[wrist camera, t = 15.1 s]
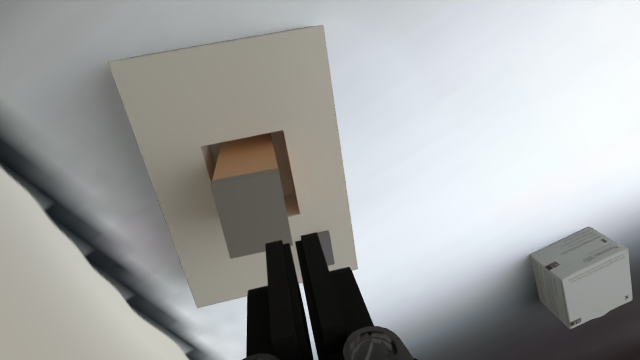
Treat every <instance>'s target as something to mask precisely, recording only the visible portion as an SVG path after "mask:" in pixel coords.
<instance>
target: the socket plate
mask: <svg viewBox="0 0 640 360" xmlns="http://www.w3.org/2000/svg"><path fill="white" fill-rule="evenodd" d="M108 63H109V66H110V69H111V72H112V75H113V77H114V80H115V83H116V86H117V88H118V91H119V94H120V97H121V99H122V102H123V105H124V108H125V110H126V113H127V116H128V119H129V121H130V124H131V127H132V130H133V132H134V135H135V138H136V141H137V144H138V146H139V149H140V152H141V155H142V157H143V160H144V163H145V166H146V168H147V171H148V174H149V177H150V179H151V182H152V185H153V188H154V190H155V193H156V196H157V199H158V201H159V204H160V207H161V210H162V213H163V215H164V218H165V221H166V224H167V226H168V229H169V232H170V235H171V237H172V240H173V243H174V246H175V248H176V251H177V254H178V257H179V259H180V262H181V265H182V268H183V271H184V273H185V276H186V279H187V282H188V284H189V287H190V290H191V293H192V295H193V298H194V301H195V304H196V306H197V308H200V307H204V306H208V305H212V304H216V303H220V302H224V301H228V300H233V299H237V298H241V297H245V296H247V294H248V290H250V289H255V288H259V287H263V286H268V281H267V264H266V251H265V252H261V253H256V254H251V255H246V256H242V257H237V258H232V259H230V256H229V252H228V248H227V245H226V241H225V237H224V234H223V230H222V226H221V223H220V219H219V215H218V211H217V208H216V204H215V200H214V197H213V193H212V189H211V184H212V180H213V175H214V171H215V167H216V163H217V159H218V155H219V151H220V147H221V143H222V142H226V141H231V140H236V139H241V138H246V137H251V136H256V135H261V134H266V133H271V137H272V142H273V147H274V151H275V156H276V160H277V165H278V169H279V174H280V179H281V184H282V190H283V195H284V200H285V206H286V211H287V216H288V221H289V227H290V232H291V237H292V242H293V246H290V247H291V251H292V256H293V261H294V265H295V270H296V274H297V279H298V283H303V280H302V275H301V270H300V265H299V260H298V255H297V250H296V245H295V241H300V240H301V235H306V234H311V233H315V232H317V234H318V237H319V240H320V243H321V247H322V250H323V253H324V256H325V260H326V263H327V266H328V269H329V271H332V270H337V269H341V268H345V267H350V268H351V270H356V269H358V267H357V259H356V252H355V245H354V238H353V231H352V224H351V217H350V210H349V203H348V196H347V189H346V182H345V175H344V168H343V161H342V154H341V147H340V139H339V132H338V125H337V118H336V111H335V104H334V97H333V90H332V83H331V76H330V69H329V62H328V55H327V48H326V41H325V34H324V27H323V25H320V26H310V27H305V28H299V29H293V30H287V31H281V32H275V33H270V34H264V35H258V36H252V37H246V38H241V39H235V40H229V41H223V42H217V43H211V44H206V45H200V46H194V47H188V48H182V49H176V50H171V51H165V52H159V53H153V54H147V55H142V56H136V57H130V58H125V59H121V60H116V61H111V62H108Z"/></svg>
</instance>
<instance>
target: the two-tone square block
mask: <svg viewBox="0 0 640 360" xmlns="http://www.w3.org/2000/svg"><path fill="white" fill-rule="evenodd" d="M211 189H212V193H213V197H214V200H215V204H216V208H217V211H218V215H219V219H220V223H221V226H222V230H223V234H224V237H225V241H226V245H227V248H228V252H229V256H230V259H232V258H237V257H242V256H246V255H251V254H256V253H261V252H265V251H266V248H265V244H266V243H270V242H274V241H279V240H282V241H283V244H286V243H290V246H293V242H292V237H291V232H290V227H289V221H288V216H287V211H286V206H285V200H284V195H283V190H282V184H281V179H280V174H279V169H278V165H277V160H276V156H275V151H274V147H273V142H272V137H271V133H266V134H261V135H256V136H251V137H246V138H241V139H236V140H231V141H226V142H222V143H221V147H220V151H219V155H218V159H217V163H216V167H215V171H214V175H213V180H212V184H211Z"/></svg>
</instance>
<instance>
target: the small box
mask: <svg viewBox="0 0 640 360" xmlns="http://www.w3.org/2000/svg"><path fill="white" fill-rule="evenodd" d="M529 256H530V260H531V264H532V268H533V273H534V277H535V282H536V286H537V290H538V295H539V299H540V301H541V302H542V303H543V304H544V305H545V306H546V307H547V308H548V309H549V310H550V311H552V312H553V313H554V314H555V315H556V316H557V317H558V318H559V319H560V320H561V321H562V322H563V323H564V324H565V325H566V326H567V327H568V328H569V329H572V328H574V327H576V326H578V325H580V324H582V323H584V322H587V321H589V320H591V319H593V318H598V317H601V316H603V315H605V314H606V313H607V312H609V311H610V310H612V309H614V308H616V307H618V306H620V305H623V304H625V303H627V302H629V301H631V300H632V286H631V278H630V267H629V256H628V249H627V248H625V247H623V246H622V245H620V244H618V243H617V242H615V241H613V240H611V239H610V238H608V237H606V236H605V235H603V234H601V233H599V232H598V231H596V230H595V229H593V228H591V227H587V228H585V229H583V230H581V231H579V232H577V233H575V234H573V235H571V236H569V237H567V238H564V239H562V240H560V241H558V242H556V243H554V244H551V245H549V246H547V247H545V248H543V249H540V250H538V251H536V252H533V253H531V254H530V255H529Z"/></svg>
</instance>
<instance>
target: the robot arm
mask: <svg viewBox="0 0 640 360" xmlns="http://www.w3.org/2000/svg"><path fill="white" fill-rule="evenodd" d="M295 245H296V250H297V255H298V260H299V265H300V270H301V275H302V280H303V285H304V290H305V295H306V301H307V306H308V311H309V316H310V321H311V326H312V331H313V336H314V340H315V345H316V350H317V355H318V359H319V360H417V359H415V358H413V357H412V355H411V354H410V353H409V351H408V350H407V348H406V347H405V345H404V344H403V342H402V341H401V339H400V338H399V337H398V336H397V335H396V334H395V333H394V332H392V331H390V330H389V329H387V328H383V327H379V326H374V325H373V323H372V320H371V318H370V315H369V313H368V310H367V308H366V305H365V303H364V300H363V298H362V295H361V293H360V290H359V288H358V285H357V283H356V280H355V278H354V275H353V273H352V270H351V268H350V267H345V268H341V269H337V270H332V271H329V269H328V266H327V263H326V260H325V256H324V253H323V250H322V247H321V243H320V240H319V237H318V234H317V232H315V233H311V234H306V235H301V240H300V241H295ZM265 248H266V264H267V281H268V286H263V287H259V288H255V289H250V290H248V294H247V357H246V358H245V359H243V360H313V354H312V349H311V343H310V338H309V333H308V327H307V322H306V316H305V311H304V306H303V302H302V297H301V293H300V288H299V283H298V279H297V274H296V270H295V265H294V261H293V256H292V251H291V247H290V243H286V244H283V241H282V240H279V241H274V242H270V243H266V244H265Z"/></svg>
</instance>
